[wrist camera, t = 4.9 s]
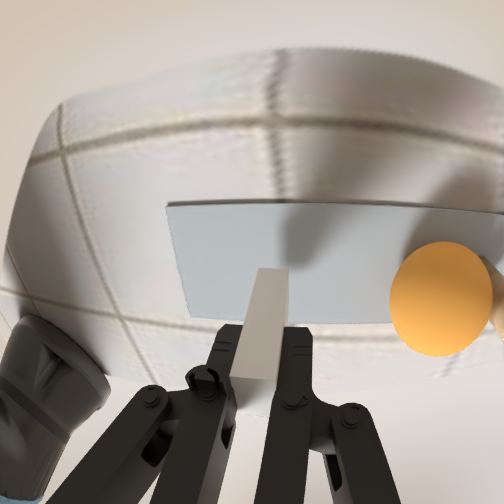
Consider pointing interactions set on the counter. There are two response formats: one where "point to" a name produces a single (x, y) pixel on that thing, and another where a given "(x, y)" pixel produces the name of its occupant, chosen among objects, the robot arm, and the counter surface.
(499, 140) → the counter surface
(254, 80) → the counter surface
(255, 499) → the robot arm
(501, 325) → the pin
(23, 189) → the counter surface
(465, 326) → the ball
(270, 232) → the lane mark
